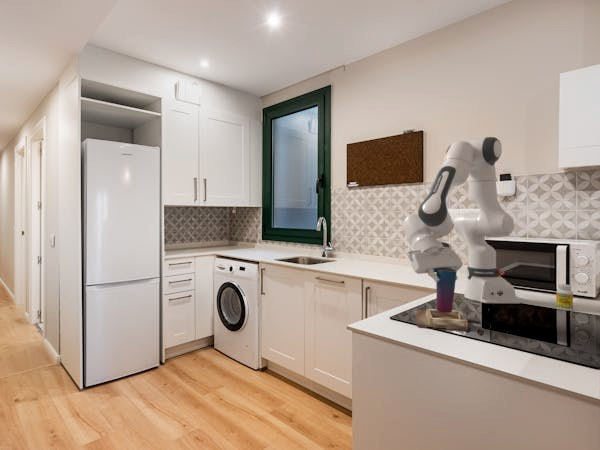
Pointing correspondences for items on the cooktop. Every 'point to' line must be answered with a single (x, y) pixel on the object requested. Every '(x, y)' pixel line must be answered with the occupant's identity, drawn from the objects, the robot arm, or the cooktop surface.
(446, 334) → the cooktop surface
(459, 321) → the light wooden shallow tray
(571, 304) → the supplement bottle
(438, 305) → the cup
